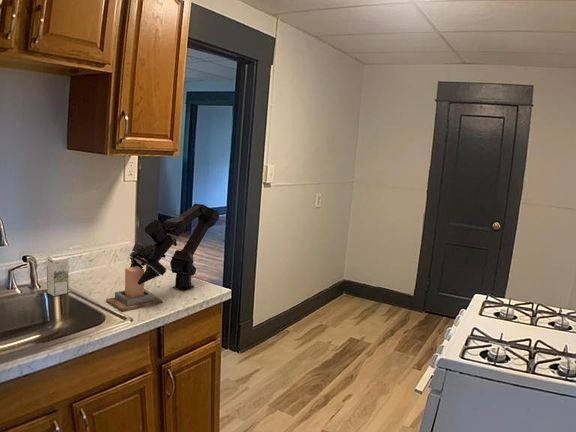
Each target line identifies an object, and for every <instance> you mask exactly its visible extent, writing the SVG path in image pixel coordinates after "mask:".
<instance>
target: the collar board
mask: <svg viewBox="0 0 576 432" xmlns="http://www.w3.org/2000/svg"><path fill="white" fill-rule="evenodd" d="M105 302H106V303H108V304H109V305H110V306H111V307H113V308H115V309H116V310H118V311H119V312H121V313H123V312H124V313H125V312H129V311H133V310H137V309H142V308H145V307H151V306H156V305H159V304H163V300H162V299H161V298H159V297H157V296H156V295H155V294H154V293H152V292H150V291H148V290H147V289H145V288H144V296H139V297H134V298H128V297H126V296H125V289H124V290H120V291H115V292H114V297H110V298H106V299H105Z"/></svg>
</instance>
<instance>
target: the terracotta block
mask: <svg viewBox="0 0 576 432" xmlns="http://www.w3.org/2000/svg"><path fill="white" fill-rule="evenodd" d="M144 272H145V269H144V268H140V267H138V266H137V267H125V268H124V280H125V281H124V290H125V296H126V297H128V298H134V297H139V296H144V289H145V282H144V283H142V284H140V285H139V284H138V281H139V280H140V278H141V277H142V275H143V274H144Z"/></svg>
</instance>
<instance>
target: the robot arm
mask: <svg viewBox="0 0 576 432" xmlns="http://www.w3.org/2000/svg"><path fill="white" fill-rule="evenodd" d="M196 219H197V224H196V226H195V228H194V229H193V231H192V232H191V234H190V235H189V238H188V240H187V241H186V243H185V244H184V246H183V248H182V249H181V250H180V249H179V250H178V249H176V250H175V251H174V253H173V255H172V256H171V258H170V259H171V260H170V263H169V264H170V269H171V273H172V274H175V281H174V282H175V285H173V286H172V289H177V290H179V291H188V290H190V289H192V288H195V285H193V284H192V276H195V274H196V272H197V268H196V267H195V265H194V261H195V260H194V255H195V252H196V251H197V249H198V247H199V245H200V244H201V242H202V240H203V239H204V237H205V235H206V233H207V232H208V230H209V229H210V228H212V227H213V226H215V225H216V223H218V220H219V219H220V212H218V210H217V209H213V208H211V207H209V206H207V205H205V204H202V203H194V204H192V206H191V207H190V208H188V209H187V210H185V211H184V212H183V213H181V214H180V215H178V216H175V217H171V218H168V219H166V220H164V221H163V222H161V220H159V219H154V220H153V221H151V222H149V223H148V224H147V225H146V226H145V228H144V233H145V234H146V235H147V237H149V238H150V239H151V240H152V242H154V243H153V244H146V243H145V244H140V243H137V242H135V243H134V245H133V248H132V249H131V251H132V252H131V253H130V254H129V259H130V267H137V266H138V267H140V268H142V269H144V267H145V270H144V274H143V275H142V277H141V278H140V280H139V281H138V284H139V285H140V284H142V283H144V284H145V283H146V282H148V281H150V280H152V279H156V278H157V277H160V276H164V275H165V274H166V272H167V271H166V270H167V268H166V267H165V266H164V265H163V264H161V263H160V260H162V258H164V259H165V258H166V256H167V255H166V253H167V252H168V251H169V250H170V249H171V247H172V246H173V247H177V246H178V243H177V239H176V238H175V237H180V236H181V235H182V234H183V233H184V232H185V231H186V227H187V226H188V225H189V224H190V223H192V222H194V220H196ZM172 236H175V237H172ZM130 267H129V268H130Z"/></svg>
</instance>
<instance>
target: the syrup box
mask: <svg viewBox="0 0 576 432" xmlns="http://www.w3.org/2000/svg"><path fill="white" fill-rule="evenodd" d="M46 284H47V285H46V290H47V291H46V292H47V294H49V295H50V296H53V297H57V296H63V295H66V294H67V293H68V294H69V289H70V288H69V258H68V257H67V256H65V255H63V254H59V255H58V254H57V255H52V256H47V257H46Z"/></svg>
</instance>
